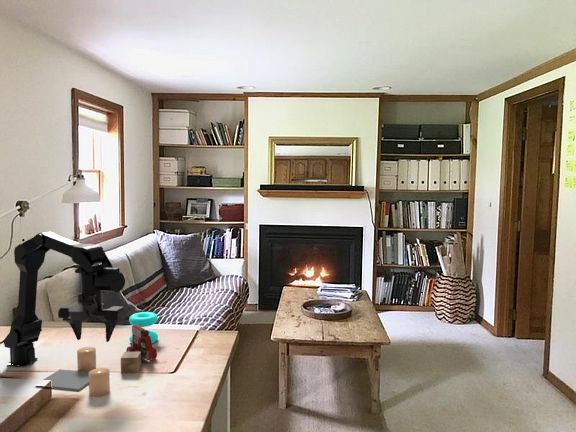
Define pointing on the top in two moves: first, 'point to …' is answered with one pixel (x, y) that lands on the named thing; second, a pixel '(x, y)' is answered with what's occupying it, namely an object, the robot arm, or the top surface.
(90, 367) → the peach domed cylinder
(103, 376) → the peach domed cap
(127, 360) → the walnut block
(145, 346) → the toy fire truck
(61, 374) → the slate board
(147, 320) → the donuts
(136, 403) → the top surface
